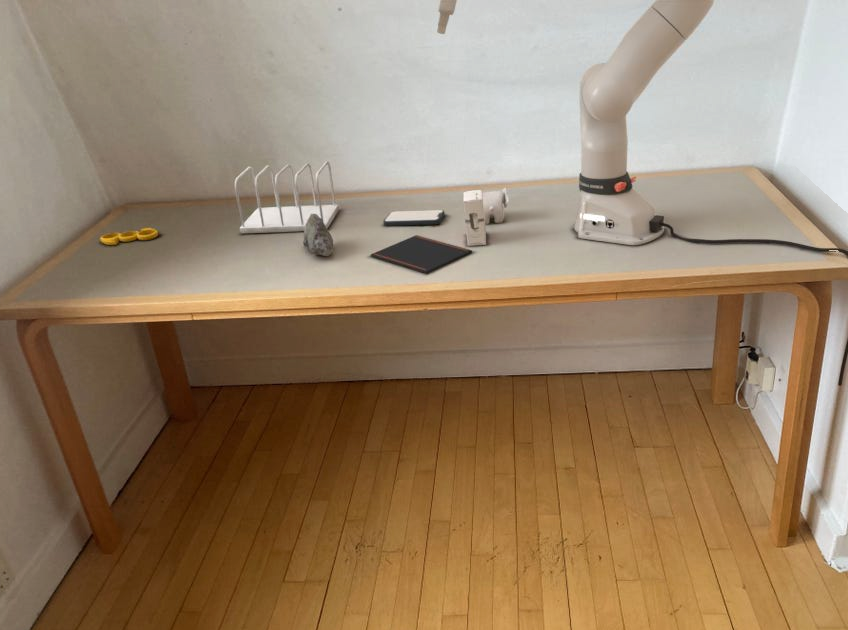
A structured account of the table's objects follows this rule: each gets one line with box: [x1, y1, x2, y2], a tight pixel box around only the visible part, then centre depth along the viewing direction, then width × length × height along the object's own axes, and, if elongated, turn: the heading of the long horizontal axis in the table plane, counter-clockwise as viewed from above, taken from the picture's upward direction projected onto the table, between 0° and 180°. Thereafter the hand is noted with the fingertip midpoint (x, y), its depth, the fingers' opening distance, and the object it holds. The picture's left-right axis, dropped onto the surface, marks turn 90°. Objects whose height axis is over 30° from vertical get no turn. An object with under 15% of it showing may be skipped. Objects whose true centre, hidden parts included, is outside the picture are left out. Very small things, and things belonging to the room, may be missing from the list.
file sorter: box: [234, 160, 340, 234], centre depth 220 cm, size 25×17×16 cm
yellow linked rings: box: [99, 227, 159, 246], centre depth 223 cm, size 17×2×10 cm
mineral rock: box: [302, 214, 335, 257], centre depth 198 cm, size 13×11×10 cm
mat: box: [370, 235, 473, 275], centre depth 193 cm, size 20×16×1 cm
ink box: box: [463, 189, 487, 247], centre depth 196 cm, size 9×5×12 cm, turn 178°
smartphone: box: [383, 209, 446, 227], centre depth 216 cm, size 9×2×16 cm
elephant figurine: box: [482, 186, 510, 225], centre depth 209 cm, size 10×12×9 cm
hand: (441, 30), depth 178 cm, fingers open, 8 cm apart
